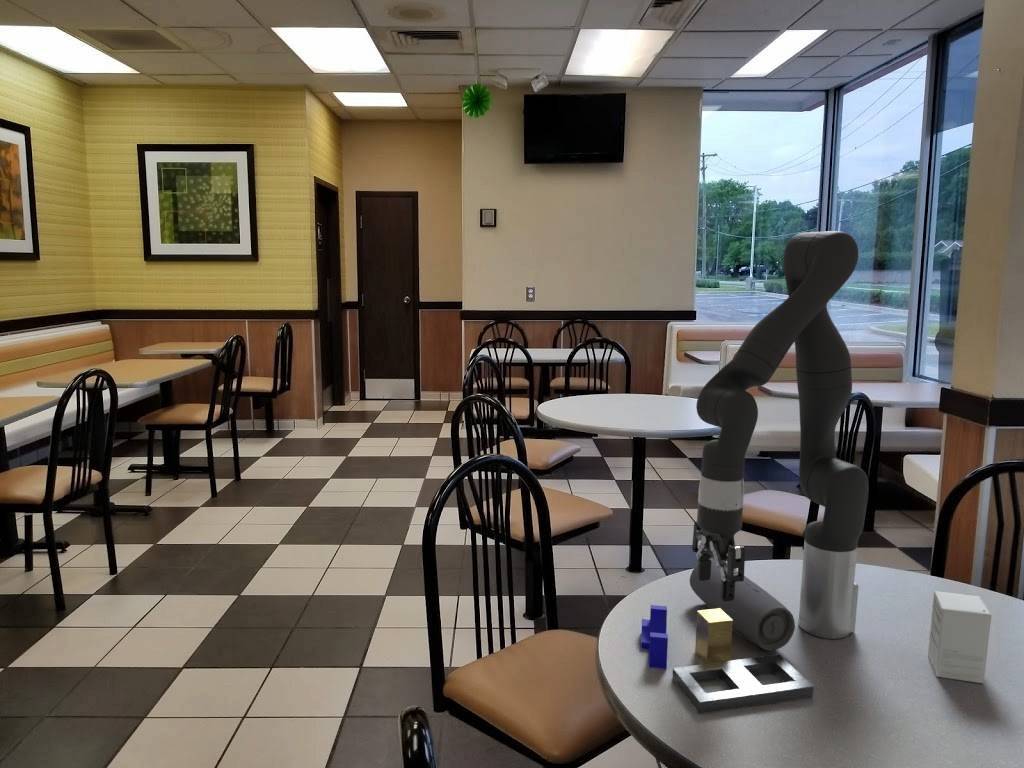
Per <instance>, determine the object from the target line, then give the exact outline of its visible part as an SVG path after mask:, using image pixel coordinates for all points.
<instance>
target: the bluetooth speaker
mask: <svg viewBox="0 0 1024 768" xmlns="http://www.w3.org/2000/svg"><path fill="white" fill-rule="evenodd" d="M709 559H710V560H711V577H710V579H709V580H704V581H701V580H699V579H698V563H697V564H696V565H695V566H694V568H693V569H692V571H691V574H690V576H689V585H690V588H691V590H692V591H693V593H694V594H695V595H696V596H697V597H698V598H699V599H700V600H701V601H702V602H703V603H704V604H705V605H706V606H707V607H708V609H718V608H720V609H721V610H723V611H724V612H725V613H726V614H727V615H728V616H729V617H730V618H731V619H732V620H733V622H732V632H734V633H736V634H737V635H738V636H740V637H741V638H742V639H744V640H746V641H751V642H752V643H754V644H755V645H756V646H758V647H760V648H762V649H763V650H767V651H774V650H778V649H781V648H783V647H784V646H787V644H788V643H789V642H790V641H791V639H792V637H793V635H794V633H795V630H796V625H795V618H794V615H793V614H792V612H791V611H790V610H789V609H788V608H787V606H785V605H784V604H783V603H782V602H780V601H779V600H778V599H777V598H775V597H774V596H772V594H770V593H769V592H768V591H766V590H765V589H764V588H762V587H761V586H760V585H758V584H757V583H755V582H754V581H752V580H751V579H750V578H748V577H747V576H745V575H744V581H738V582H735V593H734V600H733V601H726V602H724V601H722V600H721V598H720V596H721V580H722V577H721V573H720V569H719V568H717V567H716V563H715V559H714V558H713V557H711V558H709ZM725 569H726V573H727V569H728V567H725ZM737 574H738V570H737Z"/></svg>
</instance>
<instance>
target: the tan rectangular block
mask: <svg viewBox="0 0 1024 768" xmlns="http://www.w3.org/2000/svg"><path fill="white" fill-rule="evenodd" d="M732 622H733V620H732V619H731V618H730V617H729V616H728V615H727V614H726V613H725V612H724V611H723V610H721V609H720V608H718V609H710V608H708V609H701V610H696V624H695V625H696V626H695V643H694V644H695V646H694V648H695V649H694V652H695V654H696V655H697V656H698V657H699V659H701V660H702V661H703V663H704V662H705V663H704V664H708V663H716V662H724V661H731V656H732V640H733V639H732V636H733V634H732V633H733V630H732Z"/></svg>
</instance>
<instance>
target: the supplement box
mask: <svg viewBox="0 0 1024 768" xmlns="http://www.w3.org/2000/svg"><path fill="white" fill-rule="evenodd" d="M931 611H932V612H931V619H930V620H931V622H930V631H929V641H928V649H927V657H928V659H929V661H930V664H931V666H932V669H933V672H934V674H935V676H936V678H937V677H938V678H944V679H949V680H950V679H951V680H958V681H964V682H971V683H977V684H984V681H985V677H986V676H985V674H986V666H987V659H988V658H987V657H988V648H989V640H990V632H991V631H990V630H991V621H992V614H991V612H990V611H989V609H988V607H987V606H986V604H985V603H984V601H983V600H982V598H981V596H979V595H971V594H970V595H969V594H963V593H955V592H953V593H952V592H945V591H939V590H938V591H937V590H934V591H933V601H932V610H931Z"/></svg>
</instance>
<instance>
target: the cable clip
mask: <svg viewBox="0 0 1024 768" xmlns="http://www.w3.org/2000/svg"><path fill="white" fill-rule="evenodd" d="M649 612H650V613H649V614H650V615H649V619H646V618H645V619H644V618H642V619H641V637H640V639H641V640H640V642H641V643H640V649H641V650H648V651H649V652H648V653H649V655H648V659H649V660H648V664H649V665H648V668H649V669H650V668H651V669H653V668H654V669H661V670H662V669H663V670H667V669H668V668H667V667H668V666H667V665H668V645H669V634H668V633H667V624H668V607H667V605H658V604H657V605H655V604H651V605H650V611H649Z"/></svg>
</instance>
